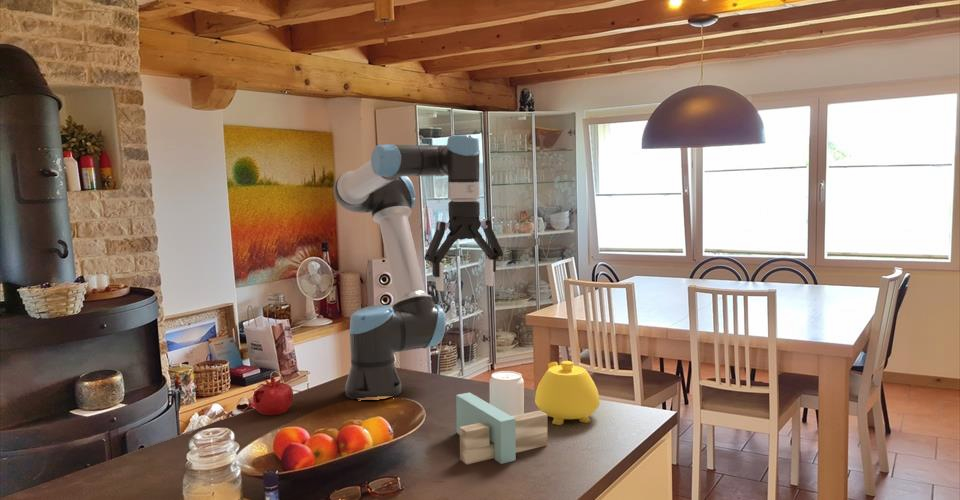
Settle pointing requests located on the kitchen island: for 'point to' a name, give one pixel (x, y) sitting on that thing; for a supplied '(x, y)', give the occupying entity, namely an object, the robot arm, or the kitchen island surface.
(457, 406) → the teal board
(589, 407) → the teapot
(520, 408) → the beverage can
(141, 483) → the kitchen island surface
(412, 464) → the kitchen island surface
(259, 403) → the pomegranate
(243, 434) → the kitchen island surface
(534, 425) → the birch rail
